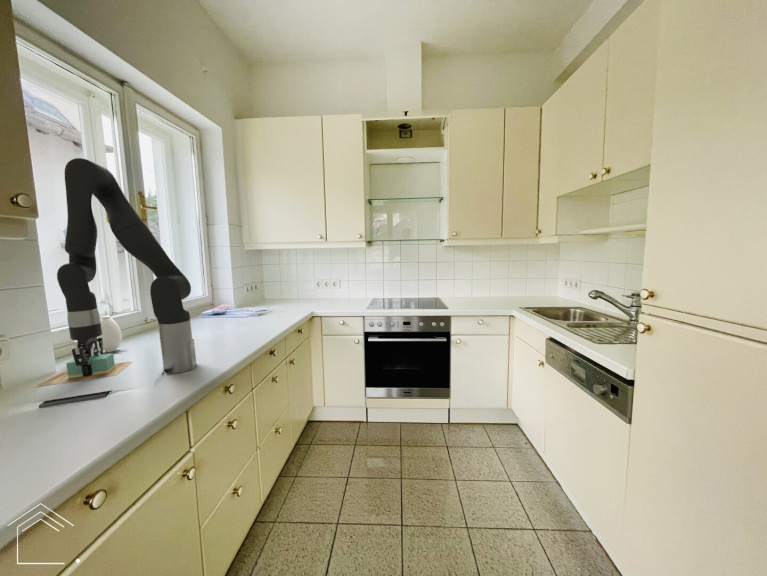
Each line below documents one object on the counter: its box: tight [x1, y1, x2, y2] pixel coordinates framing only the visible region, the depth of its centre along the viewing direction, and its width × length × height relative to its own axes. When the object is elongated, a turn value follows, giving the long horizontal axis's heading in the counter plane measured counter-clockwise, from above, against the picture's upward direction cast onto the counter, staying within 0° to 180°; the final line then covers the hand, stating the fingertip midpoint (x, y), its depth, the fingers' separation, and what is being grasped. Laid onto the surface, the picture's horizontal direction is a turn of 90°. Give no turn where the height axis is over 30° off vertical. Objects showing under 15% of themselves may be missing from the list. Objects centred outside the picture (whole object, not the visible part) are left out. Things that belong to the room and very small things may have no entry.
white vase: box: [97, 309, 123, 353], centre depth 127 cm, size 8×8×18 cm
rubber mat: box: [38, 390, 114, 409], centre depth 88 cm, size 14×10×1 cm
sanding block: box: [65, 352, 116, 378], centre depth 101 cm, size 10×6×5 cm, turn 113°
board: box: [33, 360, 134, 388], centre depth 101 cm, size 20×14×2 cm
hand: (92, 372), depth 101 cm, fingers closed on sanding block, 5 cm apart
